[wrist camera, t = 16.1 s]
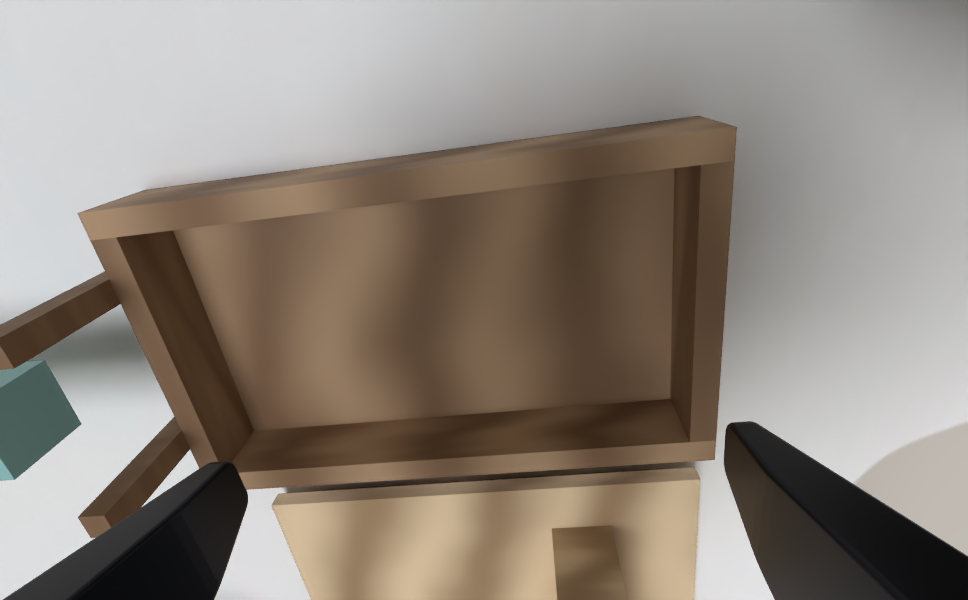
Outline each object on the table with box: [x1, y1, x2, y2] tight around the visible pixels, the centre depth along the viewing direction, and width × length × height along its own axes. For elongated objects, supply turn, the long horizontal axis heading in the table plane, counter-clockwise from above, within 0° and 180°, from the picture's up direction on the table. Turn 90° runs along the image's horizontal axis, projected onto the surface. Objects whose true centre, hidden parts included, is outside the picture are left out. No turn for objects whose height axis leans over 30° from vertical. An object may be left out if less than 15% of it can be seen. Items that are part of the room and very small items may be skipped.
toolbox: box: [0, 116, 737, 538], centre depth 19 cm, size 23×13×8 cm, turn 98°
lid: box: [272, 467, 700, 600], centre depth 27 cm, size 21×12×6 cm, turn 98°
